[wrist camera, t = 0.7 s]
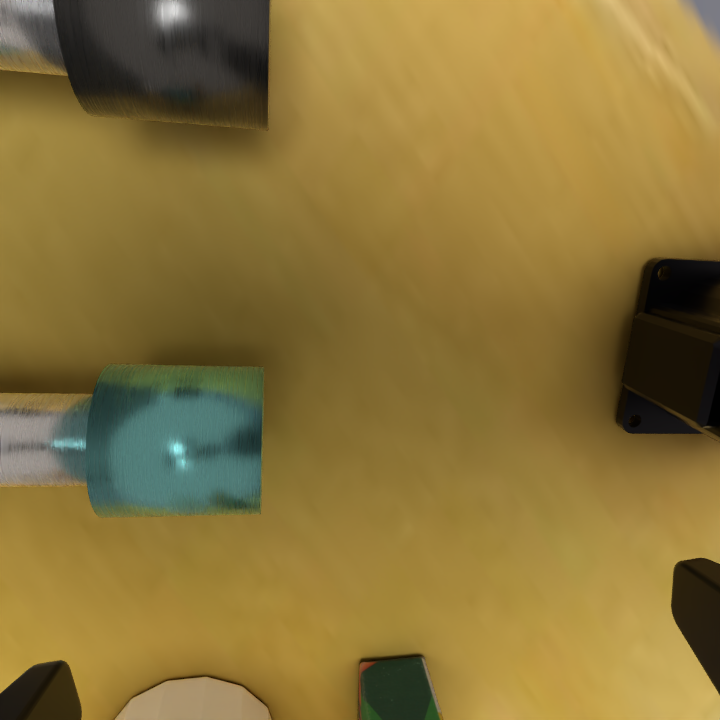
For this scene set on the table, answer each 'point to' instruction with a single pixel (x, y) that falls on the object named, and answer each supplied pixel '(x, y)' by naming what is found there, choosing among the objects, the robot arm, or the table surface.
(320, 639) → the table surface
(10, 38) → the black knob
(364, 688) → the crayon box
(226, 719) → the white cup
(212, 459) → the teal and white peg
